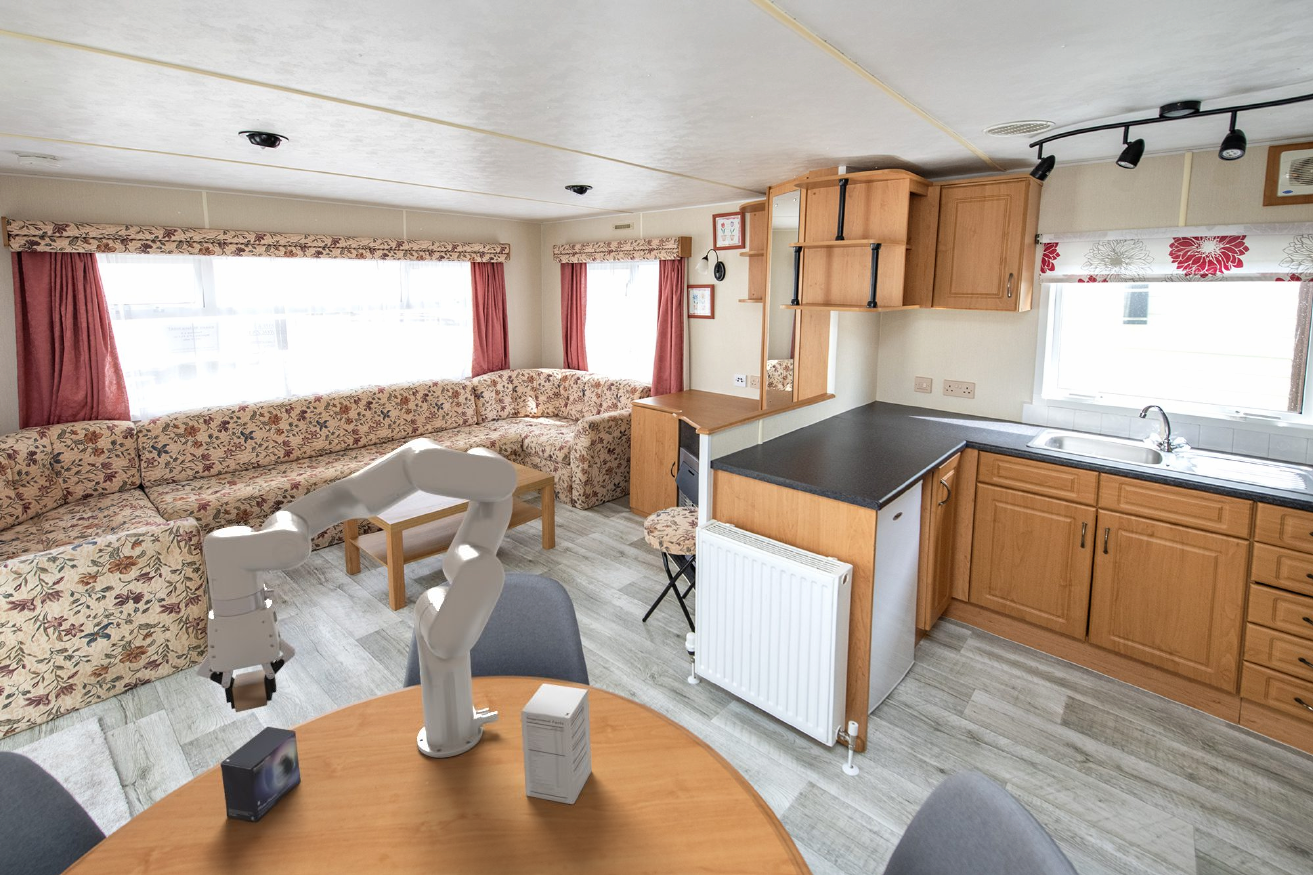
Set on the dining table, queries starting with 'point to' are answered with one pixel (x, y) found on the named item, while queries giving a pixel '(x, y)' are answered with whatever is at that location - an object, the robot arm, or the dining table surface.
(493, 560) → the robot arm
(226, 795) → the small box
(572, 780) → the supplement box
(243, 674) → the brown wooden cube
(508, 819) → the dining table surface
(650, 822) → the dining table surface
